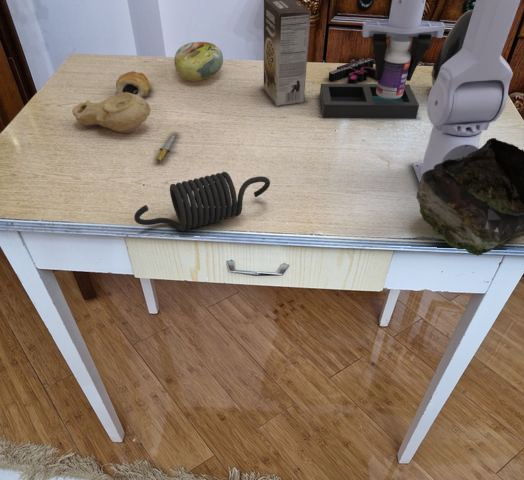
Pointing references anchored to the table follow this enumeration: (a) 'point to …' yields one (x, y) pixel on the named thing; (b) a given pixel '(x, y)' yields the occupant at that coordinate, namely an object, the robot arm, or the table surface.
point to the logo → (354, 71)
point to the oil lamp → (114, 112)
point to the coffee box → (285, 50)
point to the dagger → (165, 149)
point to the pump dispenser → (452, 43)
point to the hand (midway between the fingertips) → (392, 78)
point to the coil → (204, 201)
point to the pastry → (133, 84)
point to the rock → (476, 198)
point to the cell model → (198, 60)
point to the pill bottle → (395, 68)
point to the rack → (365, 102)
